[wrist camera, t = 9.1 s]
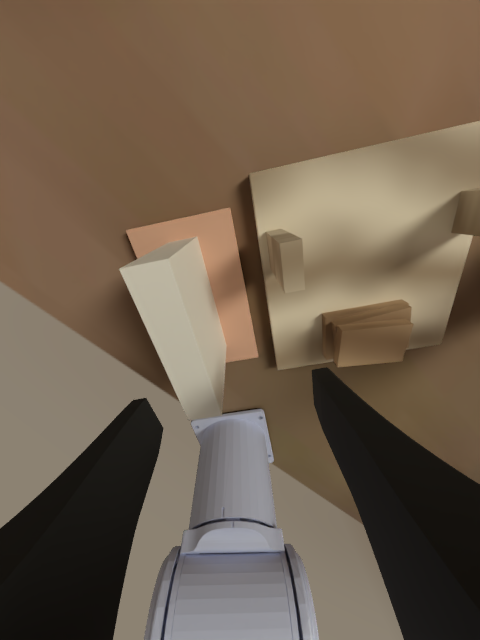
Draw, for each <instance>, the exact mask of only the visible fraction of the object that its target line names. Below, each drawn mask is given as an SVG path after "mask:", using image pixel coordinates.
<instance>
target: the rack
mask: <svg viewBox="0 0 480 640" xmlns="http://www.w3.org/2000/svg"><path fill="white" fill-rule="evenodd" d="M249 181H250V188H251V195H252V202H253V209H254V216H255V223H256V229H257V236H258V243H259V250H260V257H261V264H262V271H263V278H264V284H265V291H266V298H267V305H268V312H269V319H270V326H271V333H272V339H273V346H274V353H275V360H276V365H277V369H278V370H283V369H289V368H295V367H301V366H308V365H314V364H320V363H326V362H333V359H329V360H326V359H325V357H324V356H323V352H322V313H326V312H332V311H338V310H343V309H349V308H355V307H360V306H366V305H372V304H377V303H383V302H389V301H394V300H400V299H402V300H404V301H406V302H407V303H409V306H411V307H412V309H411V323H413V324H414V325H413V328H412V332H411V335H410V338H409V348H406V350H408V349H414V348H420V347H427V346H433V345H439V344H441V343H442V340H443V336H444V333H445V329H446V326H447V323H448V319H449V316H450V312H451V309H452V305H453V302H454V299H455V295H456V292H457V288H458V285H459V281H460V278H461V275H462V271H463V268H464V264H465V261H466V258H467V254H468V251H469V247H470V244H471V240H472V237H473V236H480V121H477V122H473V123H469V124H464V125H460V126H455V127H451V128H447V129H442V130H438V131H434V132H429V133H425V134H420V135H416V136H412V137H407V138H403V139H398V140H394V141H390V142H385V143H381V144H377V145H372V146H368V147H363V148H359V149H355V150H350V151H346V152H342V153H337V154H333V155H328V156H324V157H320V158H315V159H311V160H307V161H302V162H298V163H293V164H289V165H285V166H280V167H276V168H271V169H267V170H263V171H258V172H254V173H250V174H249Z"/></svg>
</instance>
